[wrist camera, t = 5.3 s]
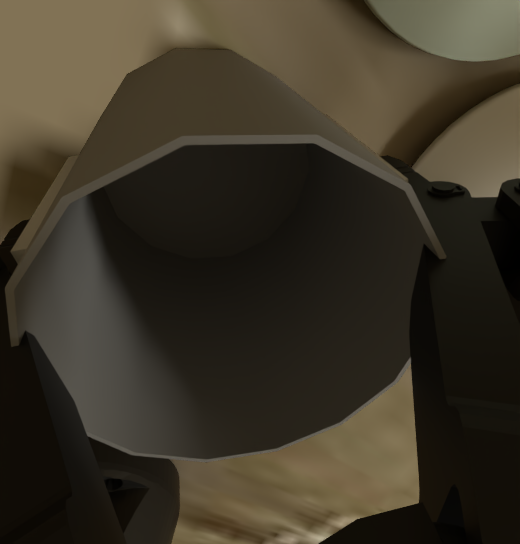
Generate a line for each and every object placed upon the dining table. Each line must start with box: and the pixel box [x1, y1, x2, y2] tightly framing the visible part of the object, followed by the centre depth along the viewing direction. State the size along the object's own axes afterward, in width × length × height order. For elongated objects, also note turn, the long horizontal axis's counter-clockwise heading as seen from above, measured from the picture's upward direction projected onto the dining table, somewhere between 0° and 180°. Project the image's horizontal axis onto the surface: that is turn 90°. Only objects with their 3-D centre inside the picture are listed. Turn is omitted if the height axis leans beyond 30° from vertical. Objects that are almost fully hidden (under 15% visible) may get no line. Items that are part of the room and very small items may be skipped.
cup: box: [5, 48, 446, 462], centre depth 12 cm, size 8×8×10 cm
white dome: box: [412, 83, 520, 197], centre depth 19 cm, size 13×13×1 cm
